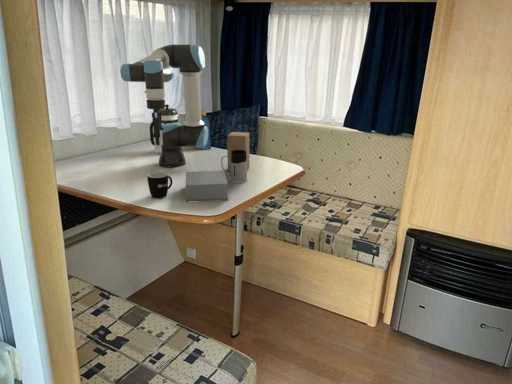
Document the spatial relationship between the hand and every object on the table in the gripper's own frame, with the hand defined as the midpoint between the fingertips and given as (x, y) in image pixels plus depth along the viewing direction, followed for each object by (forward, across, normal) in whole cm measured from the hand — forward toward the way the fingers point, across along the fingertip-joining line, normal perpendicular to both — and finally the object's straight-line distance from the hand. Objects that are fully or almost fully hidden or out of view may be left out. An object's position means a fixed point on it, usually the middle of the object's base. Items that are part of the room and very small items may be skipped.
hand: (159, 148), depth 180 cm
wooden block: (+22, -36, +40) cm, 58 cm away
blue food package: (+22, -91, +23) cm, 97 cm away
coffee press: (+22, -82, +1) cm, 85 cm away
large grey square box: (+22, 0, +20) cm, 30 cm away
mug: (+22, 0, 0) cm, 22 cm away
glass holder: (+22, -16, +35) cm, 44 cm away
